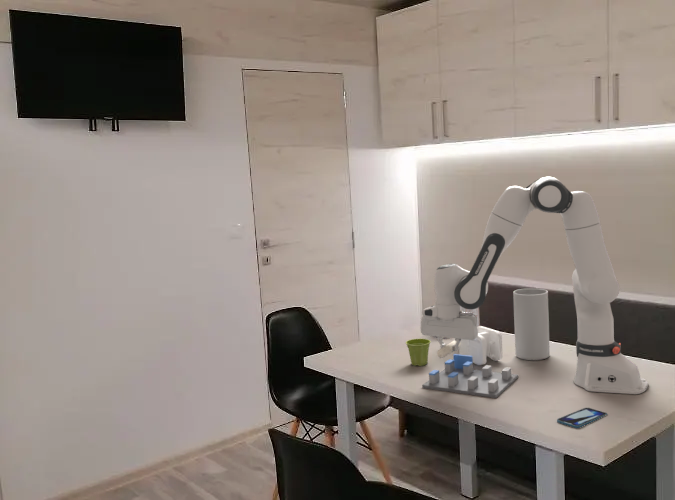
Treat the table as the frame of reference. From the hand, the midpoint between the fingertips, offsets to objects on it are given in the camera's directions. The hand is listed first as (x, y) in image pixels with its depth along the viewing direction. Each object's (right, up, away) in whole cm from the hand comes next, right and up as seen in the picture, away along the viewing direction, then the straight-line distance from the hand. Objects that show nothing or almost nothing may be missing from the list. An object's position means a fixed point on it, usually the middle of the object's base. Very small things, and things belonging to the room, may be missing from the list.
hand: (449, 349), depth 232 cm
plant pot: (-8, -9, +23) cm, 26 cm away
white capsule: (0, 0, 0) cm, 0 cm away
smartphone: (+32, -15, -39) cm, 52 cm away
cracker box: (+16, -5, +45) cm, 48 cm away
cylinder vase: (+35, -6, +23) cm, 43 cm away
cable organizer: (+16, -8, +21) cm, 28 cm away
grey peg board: (+7, -11, -3) cm, 13 cm away
